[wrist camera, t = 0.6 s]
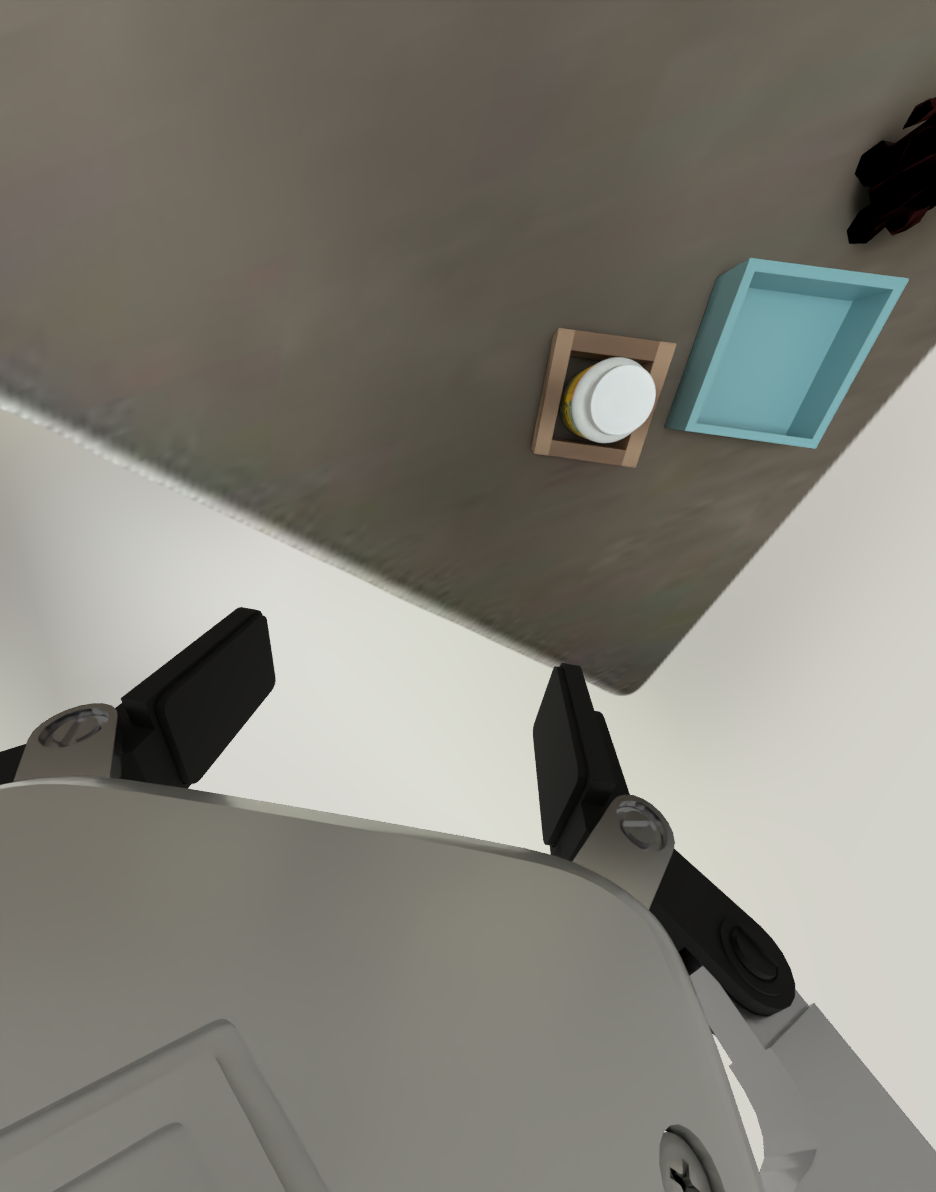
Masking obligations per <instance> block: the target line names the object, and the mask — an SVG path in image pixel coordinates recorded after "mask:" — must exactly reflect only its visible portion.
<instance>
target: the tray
mask: <svg viewBox="0 0 936 1192" xmlns="http://www.w3.org/2000/svg"><path fill="white" fill-rule="evenodd" d="M908 280H909V279H908V278H901V277H893V276H885V275H878V274H870V273H862V272H855V271H847V270H839V269H831V268H824V267H816V266H808V265H801V264H793V263H785V262H778V261H770V260H762V259H755V258H749V259H748V260H746V261H744V262H743V263H741V264H739V265H737V266H736V267H734V268H732V269H731V270H729V271H727V272H726V273H724V274H722V275H721V276H719V277H717V279H716V282H715V285H714V288H713V291H712V293H711V296H710V299H709V302H708V305H707V308H706V311H705V313H704V316H703V319H702V322H701V325H700V328H699V330H698V333H697V336H696V339H695V342H694V345H693V348H692V350H691V353H690V356H689V359H688V362H687V365H686V367H685V370H684V373H683V376H682V379H681V382H680V385H679V387H678V390H677V393H676V396H675V399H674V402H673V404H672V407H671V410H670V413H669V416H668V419H667V422H666V424H665V427H664V428H669V429H676V430H684V431H691V432H698V433H705V434H713V435H720V436H727V437H734V438H742V439H749V440H756V441H763V442H771V443H778V444H785V445H793V446H800V447H807V448H815V449H816V447H817V445H818V443H819V442H820V440H821V438H822V436H823V434H824V432H825V431H826V429H827V427H828V425H829V423H830V422H831V420H832V418H833V416H834V414H835V413H836V411H837V409H838V407H839V405H840V403H841V402H842V400H843V398H844V396H845V394H846V393H847V391H848V389H849V387H850V385H851V384H852V382H853V380H854V378H855V376H856V374H857V373H858V371H859V369H860V367H861V365H862V364H863V362H864V360H865V358H866V356H867V355H868V353H869V351H870V349H871V347H872V345H873V344H874V342H875V340H876V338H877V336H878V335H879V333H880V331H881V329H882V327H883V326H884V324H885V322H886V320H887V318H888V316H889V315H890V313H891V311H892V309H893V307H894V306H895V304H896V302H897V300H898V298H899V297H900V295H901V293H902V291H903V289H904V287H905V286H906V284H907V282H908Z"/></svg>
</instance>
